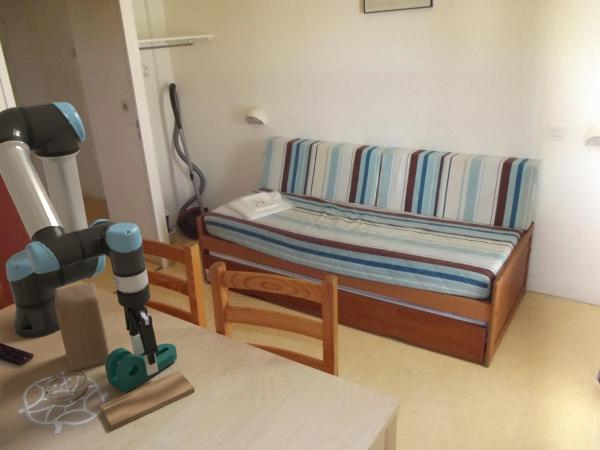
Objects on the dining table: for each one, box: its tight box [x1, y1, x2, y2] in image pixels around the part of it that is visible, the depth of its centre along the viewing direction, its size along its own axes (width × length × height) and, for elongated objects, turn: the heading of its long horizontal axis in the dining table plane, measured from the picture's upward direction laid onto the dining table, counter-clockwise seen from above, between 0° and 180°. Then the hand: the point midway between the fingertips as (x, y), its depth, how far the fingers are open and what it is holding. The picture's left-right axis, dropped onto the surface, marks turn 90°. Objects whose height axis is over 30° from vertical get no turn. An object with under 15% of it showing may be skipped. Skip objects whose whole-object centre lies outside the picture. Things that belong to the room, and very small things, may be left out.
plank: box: [99, 370, 195, 431], centre depth 123 cm, size 8×20×1 cm, turn 127°
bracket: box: [104, 342, 178, 394], centre depth 131 cm, size 18×7×8 cm, turn 143°
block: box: [55, 282, 110, 372], centre depth 136 cm, size 10×10×20 cm
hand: (146, 364), depth 132 cm, fingers closed on bracket, 8 cm apart
